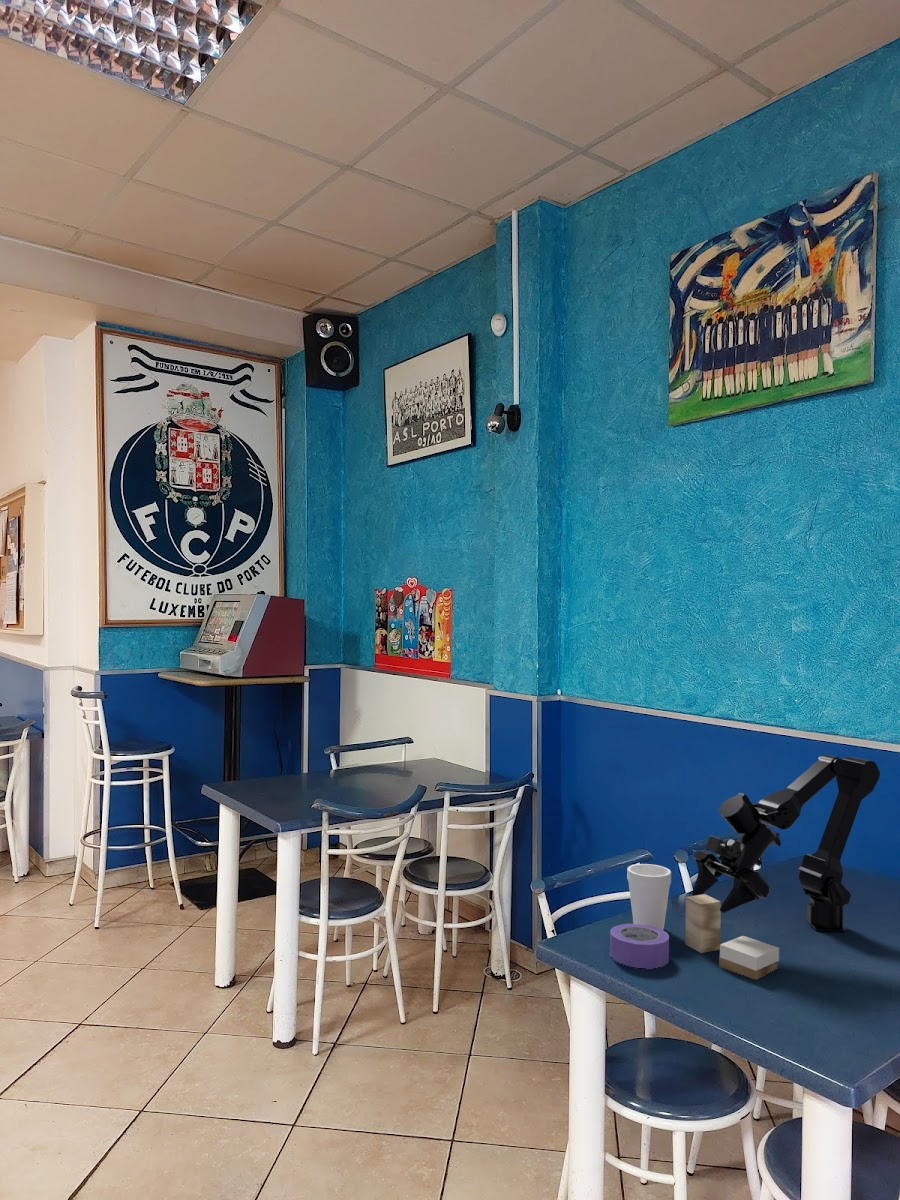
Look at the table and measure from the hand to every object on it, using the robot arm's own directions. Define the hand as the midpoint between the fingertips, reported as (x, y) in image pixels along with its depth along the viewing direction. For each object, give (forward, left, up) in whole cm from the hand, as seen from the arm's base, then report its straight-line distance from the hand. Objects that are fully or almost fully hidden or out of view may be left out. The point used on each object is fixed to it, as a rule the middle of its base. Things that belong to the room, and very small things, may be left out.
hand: (707, 904), depth 182 cm
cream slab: (-6, +11, -7) cm, 14 cm away
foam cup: (+11, -9, -9) cm, 16 cm away
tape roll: (+15, +7, -9) cm, 19 cm away
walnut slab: (-6, +10, -9) cm, 15 cm away
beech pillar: (+1, 0, -9) cm, 9 cm away
